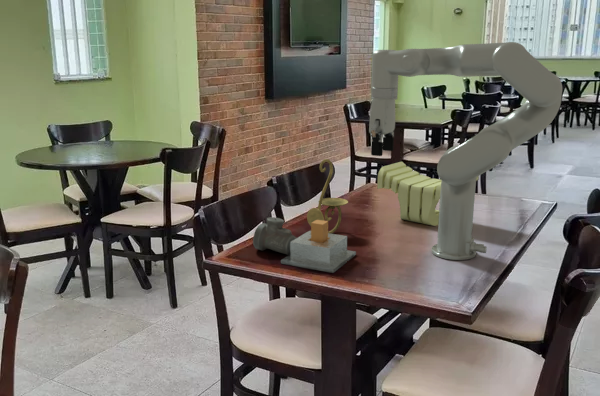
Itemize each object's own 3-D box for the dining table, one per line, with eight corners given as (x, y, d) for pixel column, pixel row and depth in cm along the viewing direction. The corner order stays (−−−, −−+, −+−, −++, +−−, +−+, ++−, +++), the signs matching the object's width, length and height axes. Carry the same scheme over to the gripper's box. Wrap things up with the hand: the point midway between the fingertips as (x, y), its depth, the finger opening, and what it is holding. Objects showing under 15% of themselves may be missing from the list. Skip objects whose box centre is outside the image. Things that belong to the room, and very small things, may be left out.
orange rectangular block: (316, 252, 167) (316, 219, 165) (327, 254, 166) (328, 221, 163) (311, 256, 164) (311, 222, 162) (322, 258, 163) (322, 224, 160)
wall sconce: (326, 242, 179) (327, 163, 173) (303, 236, 185) (303, 159, 179) (353, 232, 189) (354, 156, 183) (330, 227, 196) (331, 153, 189)
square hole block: (355, 254, 169) (356, 235, 167) (333, 272, 155) (333, 251, 153) (306, 246, 176) (306, 227, 174) (280, 263, 162) (280, 243, 161)
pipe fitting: (249, 251, 171) (253, 217, 169) (264, 245, 178) (269, 213, 176) (284, 262, 165) (288, 228, 163) (298, 256, 172) (303, 223, 170)
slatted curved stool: (376, 216, 208) (377, 167, 203) (399, 207, 219) (401, 161, 215) (454, 233, 189) (457, 179, 184) (475, 222, 200) (479, 171, 196)
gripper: (382, 91, 176) (380, 147, 180) (361, 95, 161) (359, 156, 165) (406, 92, 172) (403, 149, 177) (386, 96, 157) (384, 158, 162)
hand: (382, 153), depth 171 cm, fingers open, 9 cm apart
